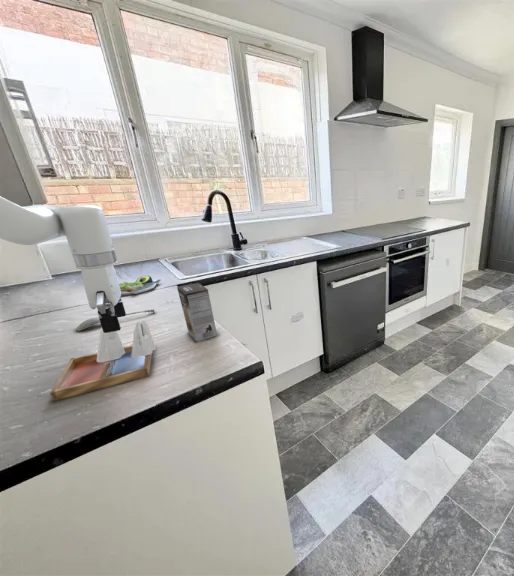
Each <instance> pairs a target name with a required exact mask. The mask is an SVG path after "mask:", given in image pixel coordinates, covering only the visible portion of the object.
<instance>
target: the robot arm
mask: <svg viewBox="0 0 514 576" xmlns="http://www.w3.org/2000/svg"><path fill="white" fill-rule="evenodd" d="M63 237H66V240H67V244H68V246H69V250H70V253H71V256H72V258H73V262H74V264H75V268H76V269H79V270H80V272H81V278H82V283H83V286H84V290H85V294H86V295H85V296H86V298H87V302H88V306H89V309H91V310H95V309H97V315H98V318H99V320H100V322H99V323H100V326H101V328H102V329H103V332H104V333H108V332H114V331H117V332H118V331H120V330H121V324H120V321H119V318H122V317H126V316H127V315H126V314H127V313H126V309H125V306H124V302H123V301H122V296H121V290H120V286H119V284H120V282H119V280H118V279H119V278H118V275H117V273H116V269H115V267H114V265H117V264H119V261H118V258H117V254H116V251H115V248H114V244H113V239H112V236H111V232H110V229H109V226H108V222H107V219H106V215H105V212H104V210H103V209H102V207H99V206H97V205H68V206H58V205H47V204H34V205H26V206H22V205H19V204H17V203H15V202H13V201H11V200H9V199H7V198H5V197H3V196H1V195H0V239H1V240H3V241H6V242H9V243H13V244H17V245H22V246H34V245H35V246H36V245H38V244H42V243H45V242H48V241H51V240H54V239H57V238H63Z"/></svg>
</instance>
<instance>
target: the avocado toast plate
mask: <svg viewBox="0 0 514 576" xmlns="http://www.w3.org/2000/svg"><path fill="white" fill-rule="evenodd" d="M161 281H162V279H157V280H156V279H153V278H152V277H151V275H148V274H147V275H142V276H140V277H138V278H137V279H136V280H135V281H127V282H126V281H124V282H122V283H120V282H119V286H120V290H121V297H125V296H131V295H138V294H142V293H145V292H148V291H151V290H153V289H154V288H155V287H156V286H157V285H158V284H159V282H161Z"/></svg>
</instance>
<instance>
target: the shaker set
mask: <svg viewBox="0 0 514 576" xmlns="http://www.w3.org/2000/svg"><path fill="white" fill-rule="evenodd" d="M146 321H147V320H145V319H141V320H140V321H136V323H135V326H134V330H133V341H132V345H133V346H132V353H131V357H132V358H135V357H136V356H146V355H149V354H151V353H154V351H156V350H157V347H156V344H155V341H154V339H153V335H152V333H151V330H150V328H149V325H148V323H147V322H146ZM97 347H98V348H97V353H98V354H97V360H96V361H97V362H98V363H105V362H111V361H115V360H118V359H121V356H122V355H123V354H125V350H124V347H125V346H124V345H123V343H122V341H121V338H120V336H119V334H118V331H114V332H108V333H104V332H103V329H102V327H101V328H100V332H99V342H98V346H97Z"/></svg>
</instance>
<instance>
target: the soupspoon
mask: <svg viewBox="0 0 514 576" xmlns="http://www.w3.org/2000/svg"><path fill="white" fill-rule="evenodd" d="M140 313H153V314H155V308H153V309H147V310H146V309H145V310H142V311H134V312H130V313H126V316H130V315H135V314H140ZM99 323H100V320H99V317H91V318H88V319H86V320H84V321H83V322H81V323H79V325H78V326H77V327H76V330H75V331H76V332H81V331H83V330H85V329H87V328H90V327H92V326H94V325H97V324H99Z"/></svg>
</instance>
